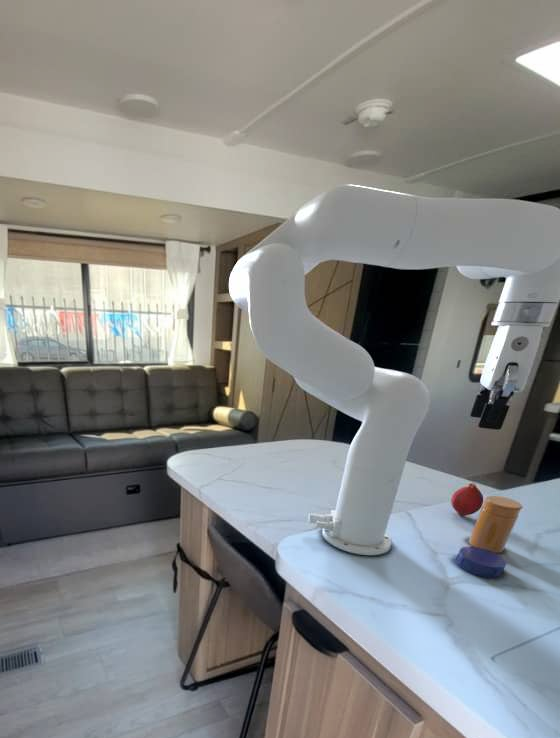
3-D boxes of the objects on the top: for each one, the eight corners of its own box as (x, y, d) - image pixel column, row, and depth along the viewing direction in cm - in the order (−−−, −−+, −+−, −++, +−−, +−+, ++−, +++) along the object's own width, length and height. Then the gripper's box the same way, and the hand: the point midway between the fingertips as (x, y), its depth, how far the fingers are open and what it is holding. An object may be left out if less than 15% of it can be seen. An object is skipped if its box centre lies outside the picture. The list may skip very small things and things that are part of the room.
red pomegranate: (453, 508, 95) (465, 476, 92) (481, 517, 91) (494, 484, 87) (441, 513, 92) (453, 481, 89) (469, 524, 88) (482, 490, 84)
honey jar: (476, 551, 77) (494, 506, 73) (463, 537, 82) (480, 494, 78) (508, 554, 76) (529, 509, 72) (494, 540, 81) (512, 497, 77)
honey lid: (474, 554, 76) (478, 544, 75) (511, 574, 70) (516, 564, 69) (446, 559, 74) (450, 549, 73) (482, 580, 68) (486, 569, 68)
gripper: (570, 316, 56) (521, 436, 64) (536, 317, 70) (499, 416, 78) (505, 314, 59) (465, 430, 67) (485, 316, 73) (454, 411, 81)
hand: (484, 422), depth 72 cm, fingers open, 9 cm apart
